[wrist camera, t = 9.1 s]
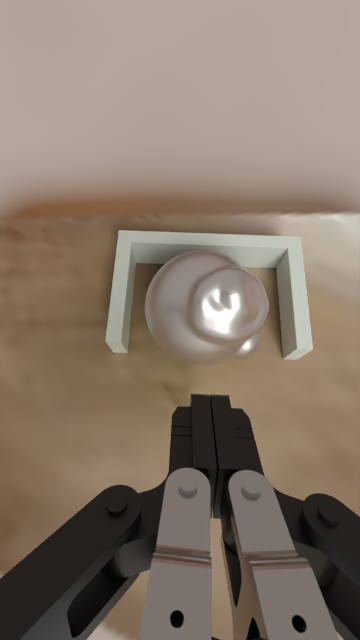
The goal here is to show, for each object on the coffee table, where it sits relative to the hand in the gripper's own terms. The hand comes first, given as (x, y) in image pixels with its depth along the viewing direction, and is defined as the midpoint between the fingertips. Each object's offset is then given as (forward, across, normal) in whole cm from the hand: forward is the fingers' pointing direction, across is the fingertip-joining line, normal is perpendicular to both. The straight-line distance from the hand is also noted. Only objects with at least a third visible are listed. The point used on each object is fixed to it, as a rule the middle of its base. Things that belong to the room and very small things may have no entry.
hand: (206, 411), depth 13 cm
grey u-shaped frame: (+17, -1, +2) cm, 18 cm away
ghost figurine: (+16, -1, +4) cm, 16 cm away
